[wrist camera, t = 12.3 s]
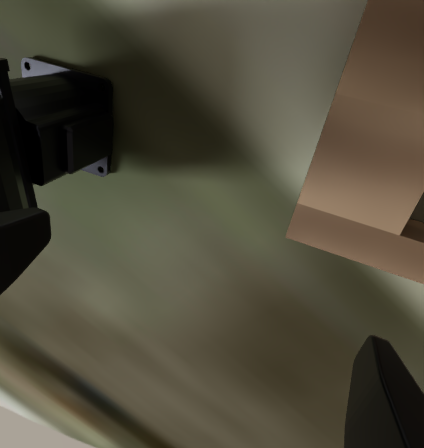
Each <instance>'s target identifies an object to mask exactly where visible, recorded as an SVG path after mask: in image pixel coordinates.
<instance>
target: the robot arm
mask: <svg viewBox="0 0 424 448" xmlns="http://www.w3.org/2000/svg"><path fill="white" fill-rule="evenodd" d="M29 64H30V66H31V68H30V67H29ZM21 68H22V78H16V79H9V76H8V72H7V71H10V70H9V65H8V61H7V59H5V58H0V295H1V294H2V293H3V292H4V291H5V290H6V289H7V288H8V287H9V286H10V285H11V284H12V283H13V282H14V281H15V280H16V279H17V278H18V277H19V276H20V275H21V274H22V273H23V271H24V270H25V269H26V268H27V267H28V266H29V265H30V264H31V262H32V261H33V260H34V259H35V258H36V257H37V256H38V255H39V253H40V252H41V251H42V250H43V249H44V248H45V247H46V246H47V244H48V243H49V241H50V239H51V225H50V215H49V213H48V212H47V211H44V210H42V209H39V208H38V207H37V202H36V198H35V193H34V189H33V185H34V184H37V185H39V186H43V185H45V184H47V183H49V182H51V181H53V180H56V179H58V178H60V177H62V176H64V175H66V174H73V173H75V172H77V171H79V170H83V171H86V172H89V173H92V174H95V175H98V176H101V177H104V176H106V175H108V174H109V173H110V166H111V154H112V137H113V117H112V95H113V87H112V83H111V81H110V80H109V79H107V78H105V77H101V76H98V75H94V74H90V73H87V72H83V71H79V70H76V69H72V68H68V67H65V66H61V65H57V64H54V63H50V62H47V61H43V60H39V59H36V58H32V57H27V58H23V59H22V61H21ZM102 83H103V84H104V85H105V90H104V89H103V88H102ZM101 167H103V169H104V171H103V170H102V169H101ZM344 448H424V393H423V392H422V390H421V389H420V387H419V386H418V384H417V383H416V381H415V379H414V378H413V376H412V375H411V373H410V372H409V370H408V369H407V367H406V366H405V364H404V363H403V361H402V360H401V358H400V357H399V355H398V354H397V352H396V351H395V349H394V347H393V346H392V344H391V343H390V342H389V341H388V340H386V339H383V338H380V337H378V336H375V335H370V336H369V337H368V338H367V339H366V341H365V342H364V344H363V346H362V347H361V349H360V351H359V352H358V354H357V356H356V358H355V360H354V364H353V370H352V377H351V384H350V392H349V399H348V406H347V413H346V421H345V436H344Z"/></svg>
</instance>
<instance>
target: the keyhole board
mask: <svg viewBox="0 0 424 448" xmlns="http://www.w3.org/2000/svg"><path fill="white" fill-rule="evenodd" d="M423 192H424V0H368V1H367V4H366V7H365V10H364V13H363V16H362V19H361V22H360V24H359V27H358V30H357V33H356V36H355V39H354V42H353V44H352V47H351V50H350V53H349V56H348V59H347V62H346V64H345V67H344V70H343V73H342V76H341V79H340V82H339V84H338V87H337V90H336V93H335V96H334V99H333V102H332V104H331V107H330V110H329V113H328V116H327V119H326V122H325V124H324V127H323V130H322V133H321V136H320V139H319V142H318V145H317V147H316V150H315V153H314V156H313V159H312V162H311V165H310V167H309V170H308V173H307V176H306V179H305V182H304V185H303V187H302V190H301V193H300V196H299V199H298V202H297V205H296V207H295V210H294V213H293V216H292V219H291V222H290V225H289V228H288V231H287V234H286V238H289V239H292V240H295V241H298V242H301V243H304V244H307V245H310V246H313V247H316V248H319V249H322V250H325V251H328V252H331V253H333V254H336V255H339V256H342V257H345V258H348V259H351V260H354V261H357V262H360V263H363V264H366V265H369V266H372V267H375V268H378V269H381V270H384V271H387V272H390V273H393V274H395V275H398V276H401V277H404V278H407V279H410V280H413V281H416V282H419V283H422V284H424V223H422V222H419V221H416V220H412V219H409V217H410V216H411V214H412V212H413V210H414V208H415V207H416V205H417V203H418V201H419V199H420V198H421V196H422V194H423Z"/></svg>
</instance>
